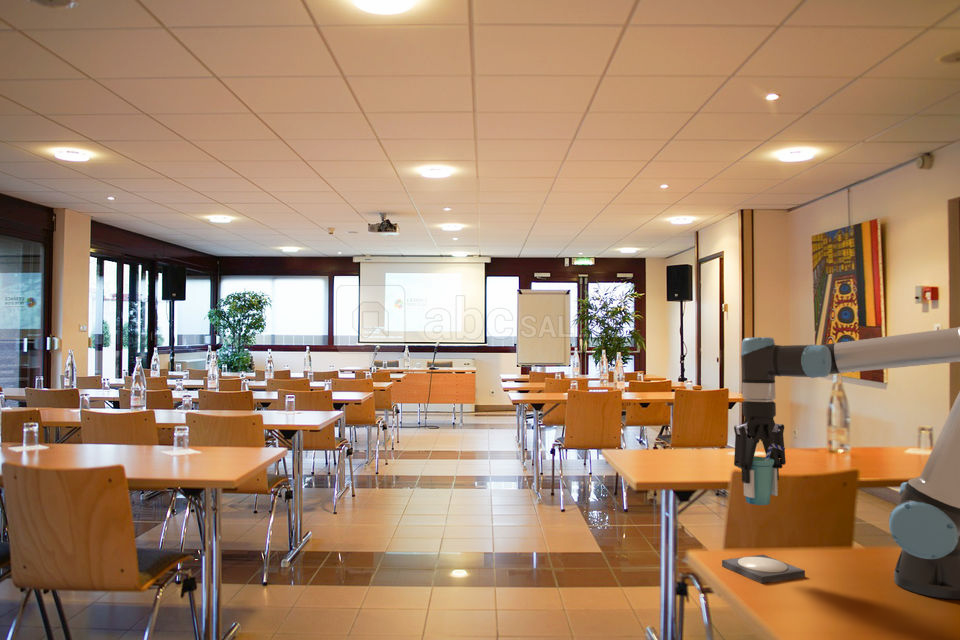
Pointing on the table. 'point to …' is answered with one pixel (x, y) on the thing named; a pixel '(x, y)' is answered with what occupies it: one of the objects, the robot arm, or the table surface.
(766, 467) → the cup
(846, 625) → the table surface
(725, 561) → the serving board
